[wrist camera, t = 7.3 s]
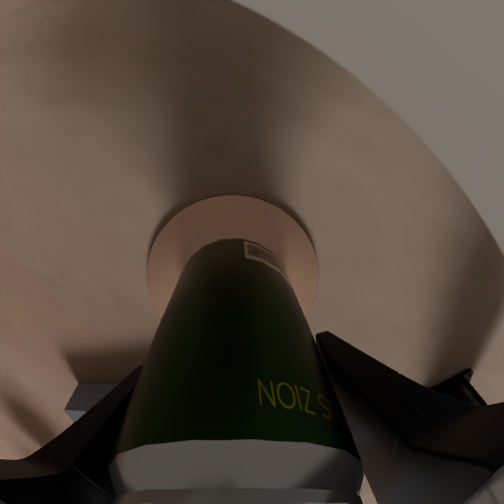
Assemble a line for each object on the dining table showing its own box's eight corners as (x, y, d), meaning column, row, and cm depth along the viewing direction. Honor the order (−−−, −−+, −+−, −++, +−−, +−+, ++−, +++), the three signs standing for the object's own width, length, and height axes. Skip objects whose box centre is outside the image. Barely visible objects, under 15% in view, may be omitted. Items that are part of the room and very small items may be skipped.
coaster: (301, 177, 13) (303, 177, 13) (324, 330, 16) (326, 334, 16) (126, 220, 14) (124, 221, 13) (180, 359, 17) (179, 363, 16)
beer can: (204, 216, 13) (99, 455, 2) (304, 259, 14) (432, 480, 3) (168, 307, 15) (97, 525, 3) (259, 340, 16) (287, 553, 4)
